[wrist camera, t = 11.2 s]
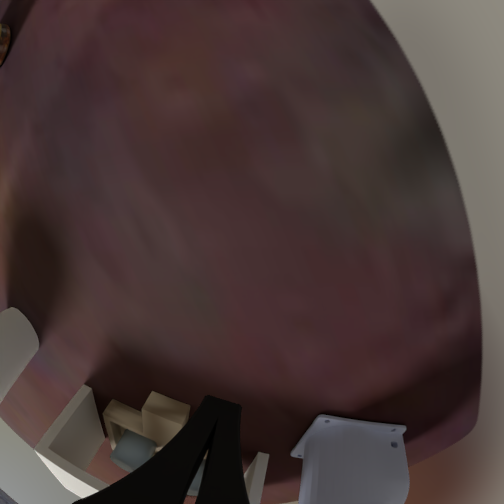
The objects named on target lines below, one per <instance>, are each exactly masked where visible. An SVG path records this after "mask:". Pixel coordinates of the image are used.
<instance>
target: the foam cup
mask: <svg viewBox="0 0 504 504" xmlns="http://www.w3.org/2000/svg"><path fill="white" fill-rule="evenodd" d="M38 349H39V340H38V337H37V334H36V332H35V330H34V328H33V326H32V325H31V323H30V322H29V321H28V319H27V318H26V317H25V315H24V314H22V313H21V312H20V311H19V310H18V309H16V308H14V307H11V308H9V309H6V310H4V311H2V312H0V403H1V402H2V400H3V399H4V397H5V396H6V394H7V393H8V391H9V390H10V388H11V387H12V385H13V384H14V382H15V381H16V380H17V378H18V377H19V375H20V374H21V372H22V371H23V370H24V368H25V367H26V365H27V364H28V363H29V361H30V360H31V359H32V357H33V356H34V355H35V353H36V351H37V350H38Z"/></svg>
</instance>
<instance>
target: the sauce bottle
mask: <svg viewBox="0 0 504 504" xmlns="http://www.w3.org/2000/svg"><path fill="white" fill-rule="evenodd" d="M10 36H11V35H10V28H9V26H8V25H6V24H1V23H0V65H1V64H2V62H3V60H4V58H5V55H6V53H7V50H8V47H9V43H10V40H11V38H10Z"/></svg>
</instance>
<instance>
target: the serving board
mask: <svg viewBox="0 0 504 504" xmlns="http://www.w3.org/2000/svg"><path fill="white" fill-rule="evenodd" d="M189 412H190V405H188V404H185V403H182V402H179V401H177V400H174V399H171V398H169V397H166V396H164V395H161V394H159V393H156V392H154V391H152V392H151V394H150V395H149V397H148V399H147V400H146V402H145V404H144V406H143V407H142V412H140V411H138V410H136V409H134V408H131V407H129V406H127V405H125V404H123V403H121V402H119V401H117V400H115V399H112V400H111V402H110V403H109V405H108V406H107V407H106V409H105V410H104V412H103V413H102V414H103V418H104V422H105V425H106V429H107V433H108V436H109V440H110V443H111V447H112V450H114V448H115V447H116V445H117V443H118V441H119V440H120V438H121V436H122V435H123V433H124V431H125V430H126V429H128V430H131V431H133V432H135V433H137V434H139V435H142V436H144V437H146V438H149V439H151V440H153V441H155V442H156V444H157V448H156V450H155V452H154V454H153V456H154V455H155V454H156V453H157V452H159V451H160V450H161V449H162V448H163V447H164V446H165V445H166V444H167V443H168V442H169V441H170V440H171V439H172V438H173V437H174V436H175V435H176V434H177V433H178V432H179V431H180V430H181V429H182V427H183V426H184V425H185V424H186V423H187V422H188V418H189ZM207 453H208V450H207ZM207 453H206V455H205V457H204V459H205V460H206V457H207ZM153 456H152V457H153Z"/></svg>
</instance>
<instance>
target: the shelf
mask: <svg viewBox="0 0 504 504" xmlns="http://www.w3.org/2000/svg"><path fill="white" fill-rule="evenodd" d="M104 440H105V436H104V433H103V429H102V426H101V422H100V419H99V415H98V411H97V408H96V404H95V400H94V396H93V391H92V388H90V387H88V386H86V385H85V384H83V386H82V387H81V388H80V389H79V391H78V392H77V393H76V394H75V396H74V397H73V398H72V399H71V401H70V402H69V403H68V405H67V406H66V407H65V408H64V410H63V411H62V412H61V414H60V415H59V416H58V417H57V419H56V420H55V421H54V423H53V424H52V425H51V427H50V428H49V429H48V431H47V432H46V433H45V435H44V436H43V437H42V439H41V440H40V441H39V443H38V444H37V445H36V447H35V448H34V450H35V452H36V453H37V454H38V456H39V457H40V458H41V460H42V461H43V462H44V463H45V465H46V466H47V467H48V468H49V470H50V471H51V472H52V473H53V474H54V476H55V477H56V478H57V479H58V480H59V481H60V483H61V484H62V485H63V486H64V487H65V488H66V489H68V490H70V491H71V492H73V493H75V494H76V495H78V496H79V497H81V498H85V497H87V496H90V495H92V494H94V493H96V492H98V491H100V490H102V489H104V488H106V487H108V486H110V485H109V484H107V483H105V482H103V481H101V480H99V479H97V478H95V477H94V476H92V475H90V474H88V473H86V472H85V471H86V469H87V467H88V466H89V464H90V462H91V461H92V459H93V457H94V456H95V454H96V452H97V451H98V449H99V448H100V446H101V444H102V443H103V441H104ZM268 459H269V454H266V453H261V452H258V454H257V455H256V457H255V458H254V460H253V462H252V463H251V465H250V466H249V468H248V469H247V471H246V472H245V474H244V480H245V485H246V490H247V494H248V498H249V502H250V504H260V500H261V495H262V490H263V485H264V480H265V475H266V470H267V464H268Z"/></svg>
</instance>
